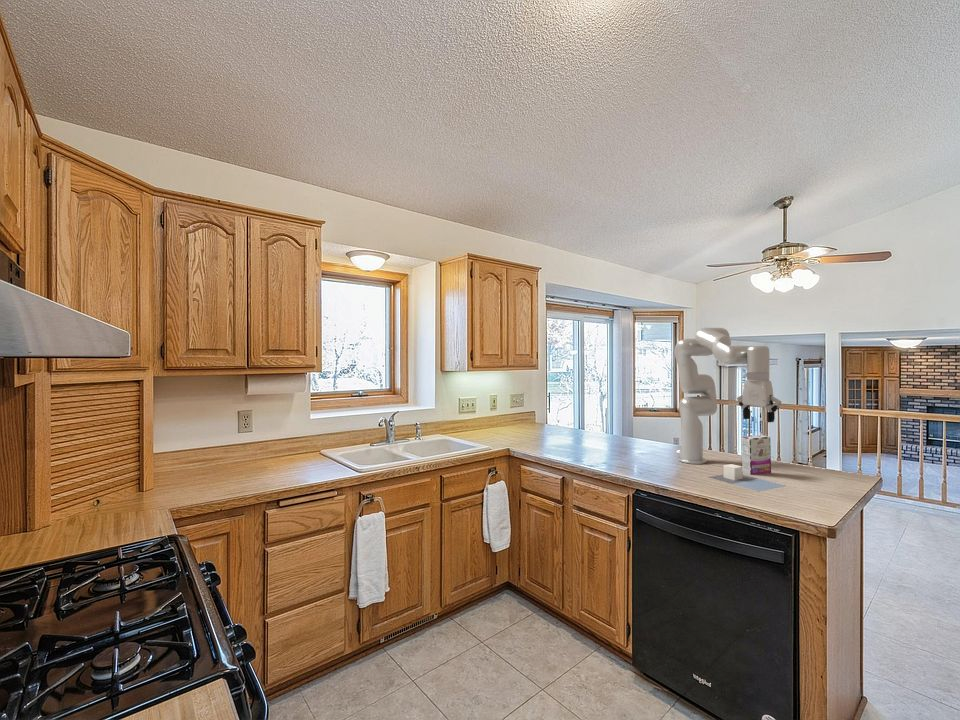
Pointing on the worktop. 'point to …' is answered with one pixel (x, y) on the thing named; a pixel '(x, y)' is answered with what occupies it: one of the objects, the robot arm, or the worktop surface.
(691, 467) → the worktop surface
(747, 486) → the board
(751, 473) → the candy bar box
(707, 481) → the worktop surface
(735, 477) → the cream block
